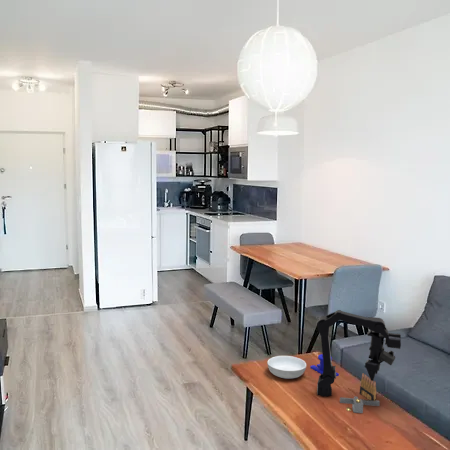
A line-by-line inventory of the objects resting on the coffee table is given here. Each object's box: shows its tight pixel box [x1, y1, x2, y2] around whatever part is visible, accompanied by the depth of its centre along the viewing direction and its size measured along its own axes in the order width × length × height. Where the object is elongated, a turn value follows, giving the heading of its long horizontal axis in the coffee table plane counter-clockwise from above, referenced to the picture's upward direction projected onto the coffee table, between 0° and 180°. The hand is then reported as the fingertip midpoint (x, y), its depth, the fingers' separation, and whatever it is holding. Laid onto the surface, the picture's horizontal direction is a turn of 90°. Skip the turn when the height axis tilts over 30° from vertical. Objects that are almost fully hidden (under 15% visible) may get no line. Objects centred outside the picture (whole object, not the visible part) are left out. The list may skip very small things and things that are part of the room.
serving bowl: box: [267, 355, 307, 380], centre depth 251 cm, size 21×21×7 cm
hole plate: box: [339, 396, 381, 412], centre depth 212 cm, size 18×13×3 cm
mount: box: [309, 353, 340, 377], centre depth 256 cm, size 15×8×9 cm, turn 30°
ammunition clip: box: [359, 372, 377, 400], centre depth 224 cm, size 11×2×12 cm, turn 20°
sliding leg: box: [351, 395, 364, 414], centre depth 213 cm, size 4×8×5 cm, turn 173°
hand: (373, 377), depth 220 cm, fingers open, 9 cm apart
